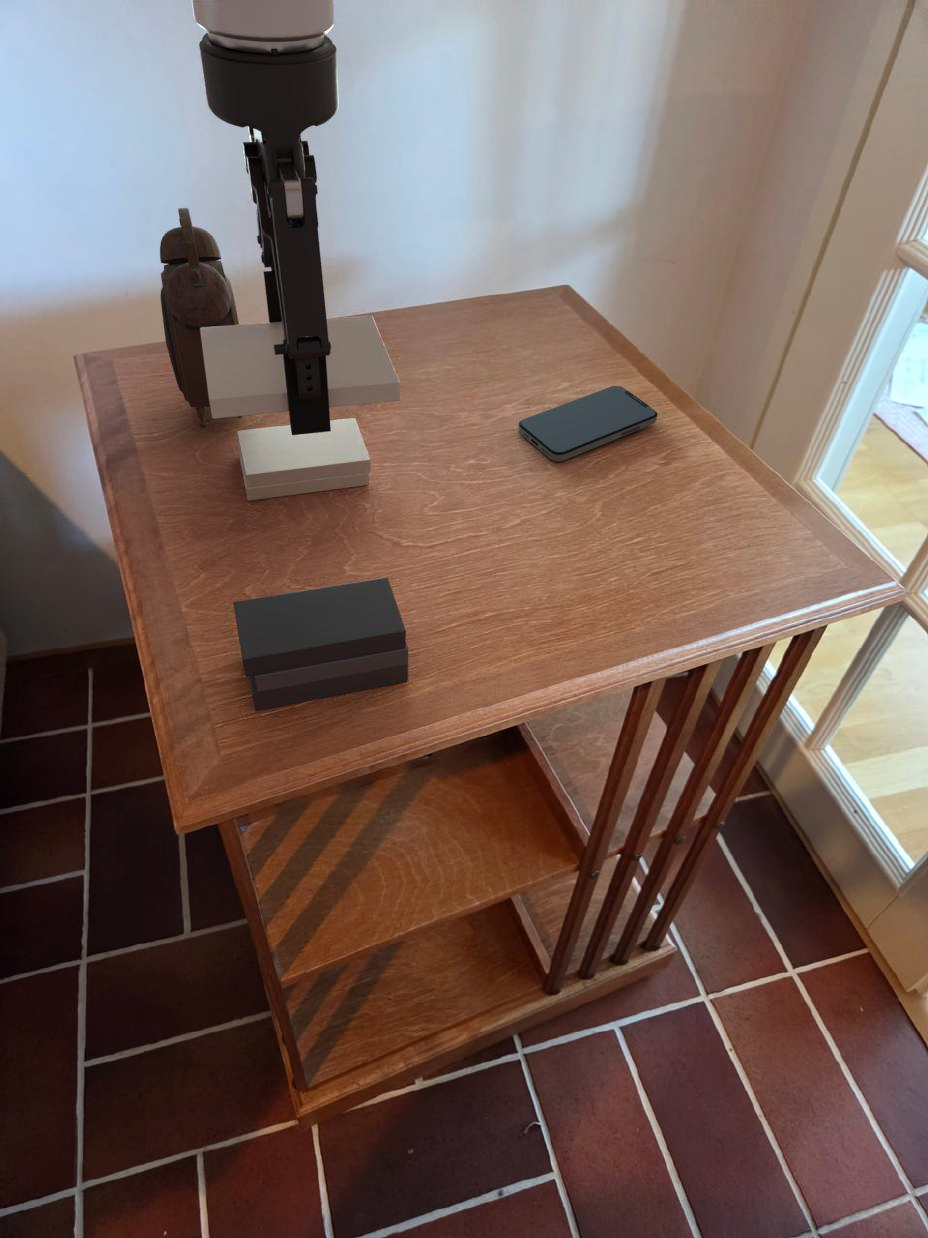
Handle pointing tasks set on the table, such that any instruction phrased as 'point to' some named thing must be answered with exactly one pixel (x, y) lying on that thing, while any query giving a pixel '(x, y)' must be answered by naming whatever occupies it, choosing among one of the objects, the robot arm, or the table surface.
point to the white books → (302, 460)
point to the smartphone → (587, 423)
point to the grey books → (321, 642)
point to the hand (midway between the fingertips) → (300, 389)
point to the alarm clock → (192, 304)
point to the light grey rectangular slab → (256, 376)
